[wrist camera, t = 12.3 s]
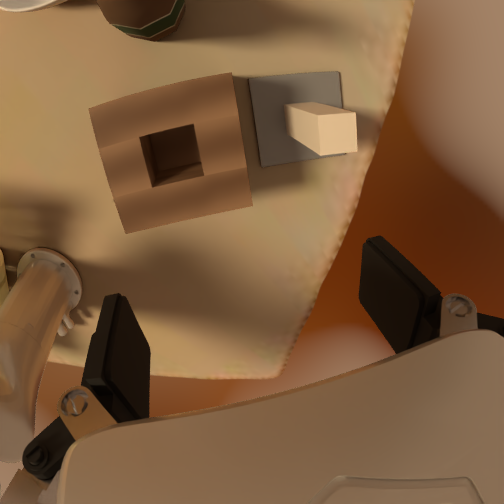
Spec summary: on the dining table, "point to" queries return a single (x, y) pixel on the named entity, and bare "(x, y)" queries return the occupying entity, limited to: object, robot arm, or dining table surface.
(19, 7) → the serving bowl
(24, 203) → the dining table surface
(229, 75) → the wooden square ring
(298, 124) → the square peg
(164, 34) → the beer bottle
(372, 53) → the dining table surface
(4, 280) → the slatted curved stool
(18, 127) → the dining table surface
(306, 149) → the rubber mat
